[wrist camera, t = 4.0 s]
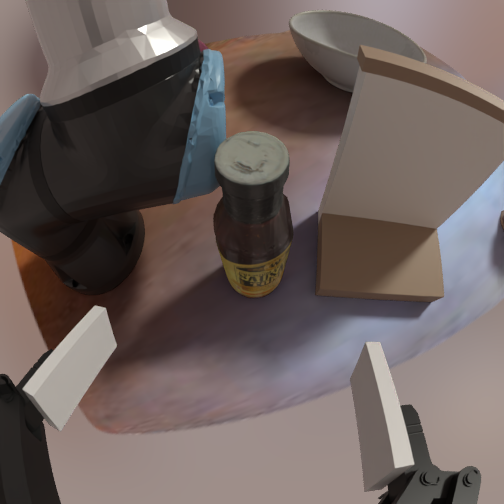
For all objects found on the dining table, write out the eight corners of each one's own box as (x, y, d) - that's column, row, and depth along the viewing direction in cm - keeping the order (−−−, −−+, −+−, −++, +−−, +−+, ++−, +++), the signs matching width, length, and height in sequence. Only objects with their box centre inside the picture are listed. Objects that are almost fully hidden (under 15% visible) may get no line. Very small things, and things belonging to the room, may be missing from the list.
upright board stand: (312, 294, 31) (400, 161, 9) (316, 210, 35) (359, 44, 13) (433, 302, 29) (573, 223, 8) (426, 225, 33) (522, 112, 12)
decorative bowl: (396, 139, 39) (420, 86, 28) (262, 83, 46) (261, 30, 34) (415, 82, 47) (430, 44, 36) (316, 42, 53) (320, 3, 42)
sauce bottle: (246, 310, 31) (216, 236, 12) (218, 265, 33) (165, 152, 14) (294, 280, 32) (331, 173, 13) (265, 238, 34) (263, 106, 15)
